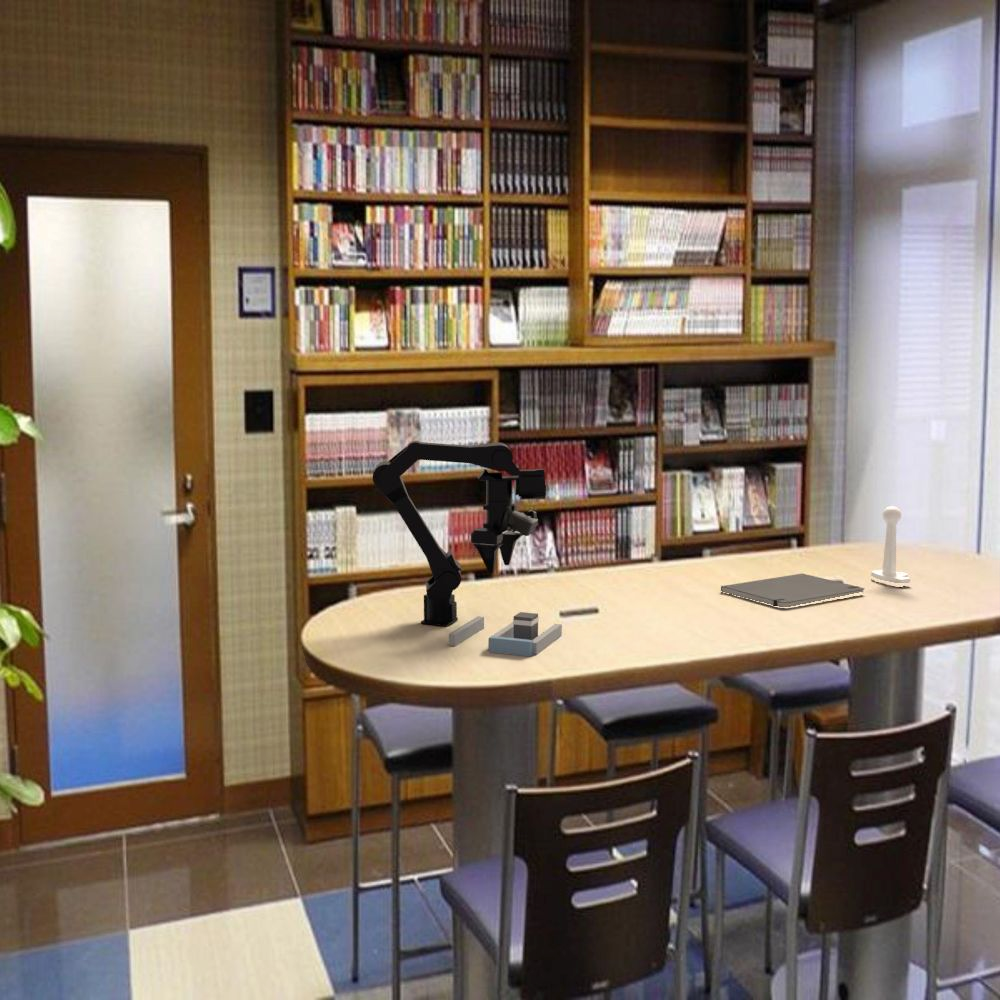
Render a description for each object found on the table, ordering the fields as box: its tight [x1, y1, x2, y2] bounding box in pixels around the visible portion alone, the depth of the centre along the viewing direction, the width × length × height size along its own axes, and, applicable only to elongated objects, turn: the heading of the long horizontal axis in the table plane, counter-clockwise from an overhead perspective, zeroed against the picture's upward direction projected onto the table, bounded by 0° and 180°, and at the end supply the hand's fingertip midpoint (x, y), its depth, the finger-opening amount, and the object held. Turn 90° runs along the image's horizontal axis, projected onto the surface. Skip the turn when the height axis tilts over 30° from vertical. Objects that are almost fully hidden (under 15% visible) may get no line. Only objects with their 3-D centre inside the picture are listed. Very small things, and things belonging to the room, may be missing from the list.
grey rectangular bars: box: [447, 615, 563, 657], centre depth 257 cm, size 20×18×3 cm
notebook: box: [720, 573, 865, 607], centre depth 301 cm, size 22×2×28 cm
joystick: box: [870, 505, 912, 583], centre depth 311 cm, size 11×8×20 cm
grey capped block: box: [512, 611, 539, 640], centre depth 256 cm, size 4×4×6 cm
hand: (499, 569), depth 273 cm, fingers open, 9 cm apart
